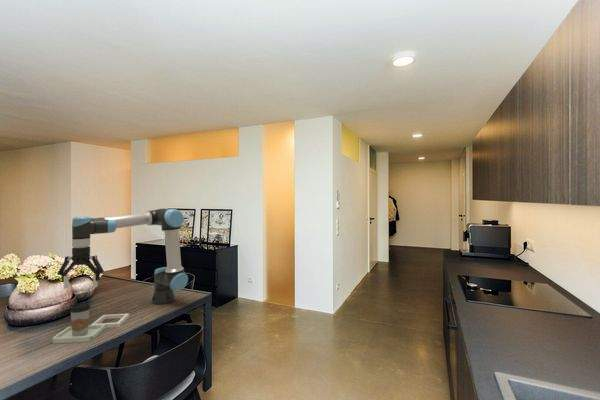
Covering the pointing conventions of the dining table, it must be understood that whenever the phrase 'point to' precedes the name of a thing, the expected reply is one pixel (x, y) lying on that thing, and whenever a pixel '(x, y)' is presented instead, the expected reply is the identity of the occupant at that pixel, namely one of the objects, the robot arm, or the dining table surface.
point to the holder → (112, 316)
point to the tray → (68, 337)
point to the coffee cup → (80, 319)
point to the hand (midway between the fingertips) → (80, 287)
